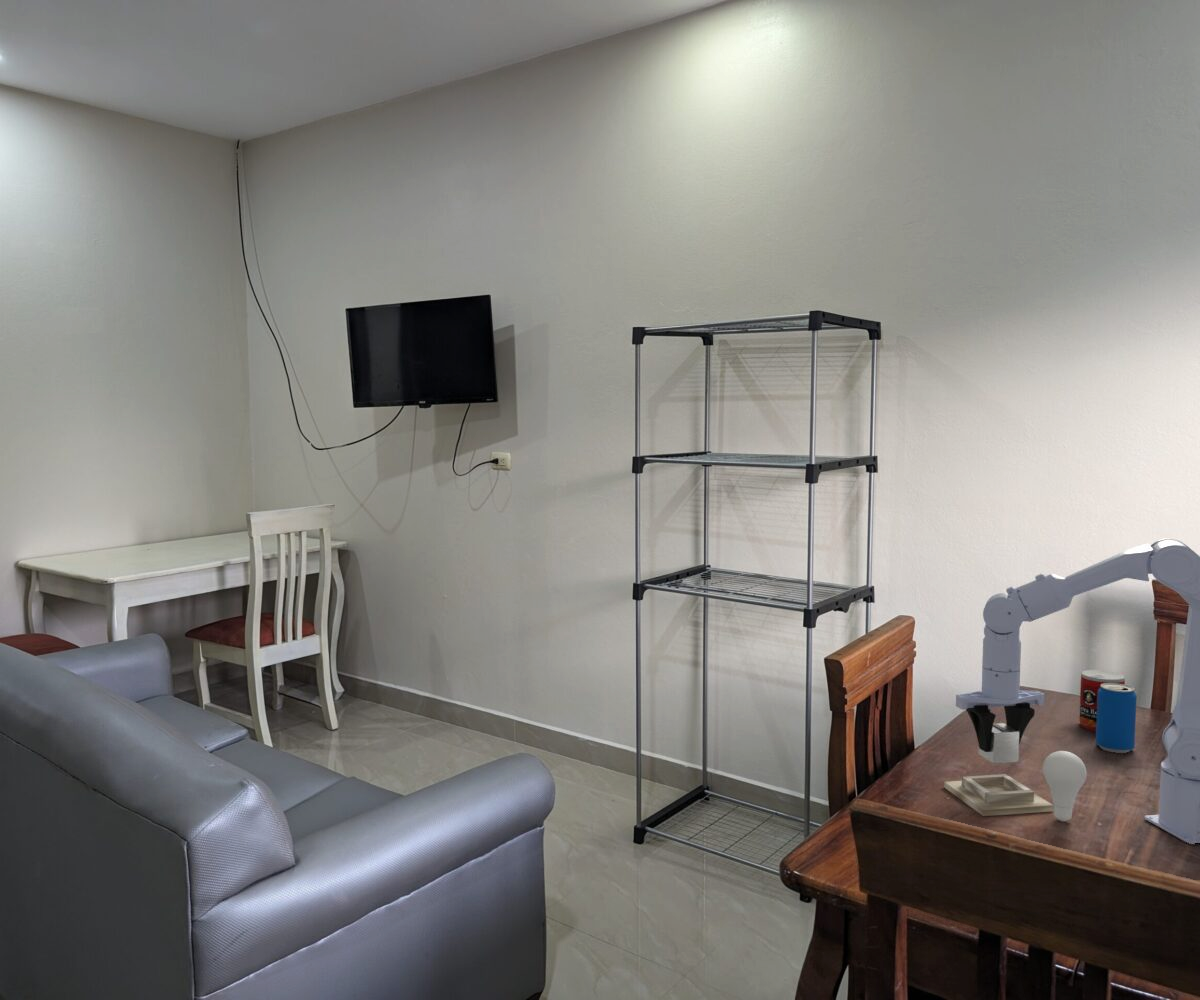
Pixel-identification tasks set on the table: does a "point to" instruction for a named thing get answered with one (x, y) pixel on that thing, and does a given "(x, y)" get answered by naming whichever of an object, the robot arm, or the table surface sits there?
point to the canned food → (1094, 694)
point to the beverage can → (1116, 717)
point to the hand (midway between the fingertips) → (998, 749)
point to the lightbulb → (1064, 781)
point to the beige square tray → (997, 795)
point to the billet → (1002, 744)
